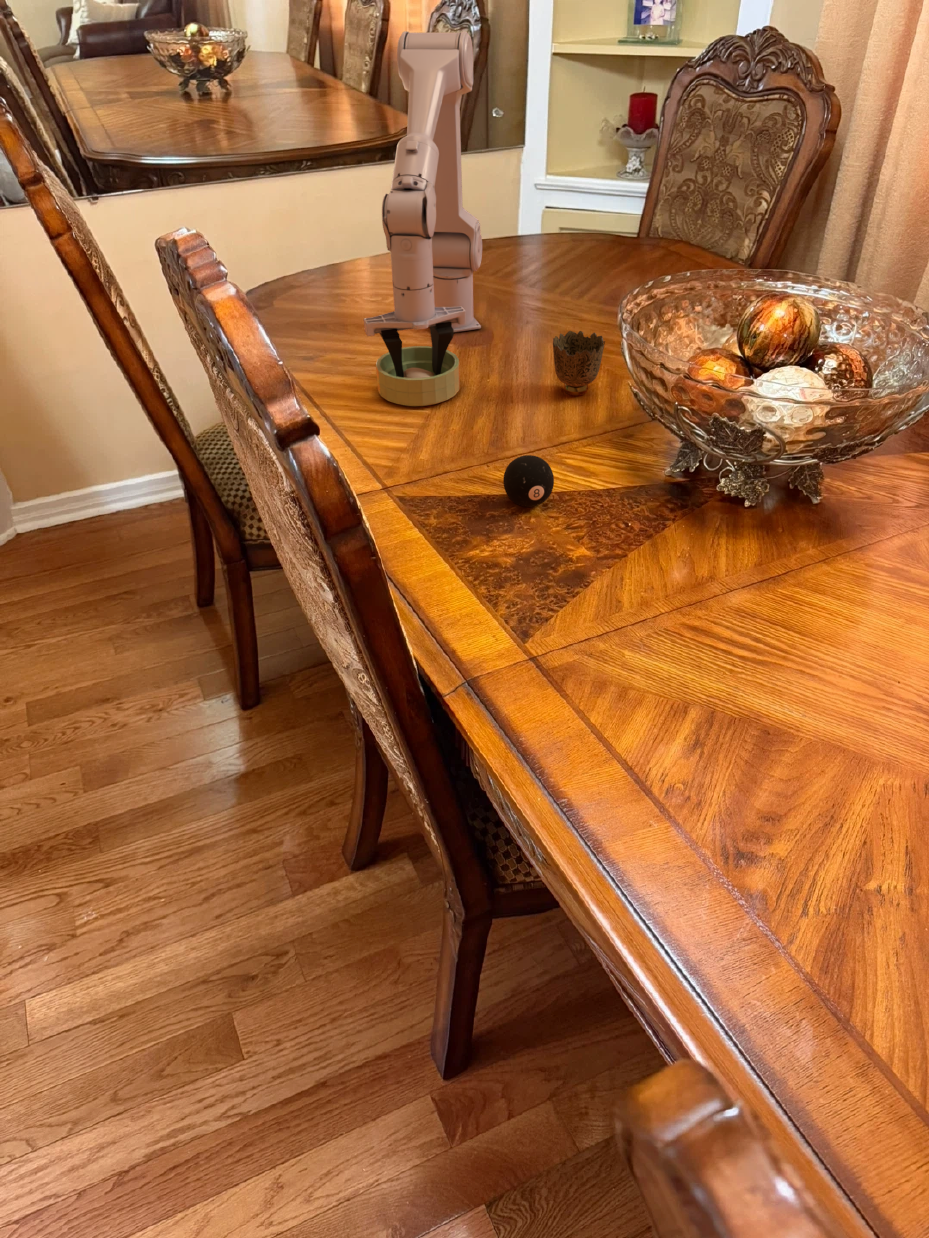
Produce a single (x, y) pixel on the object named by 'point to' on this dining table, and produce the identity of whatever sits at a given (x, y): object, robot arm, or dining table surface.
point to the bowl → (418, 388)
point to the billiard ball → (528, 480)
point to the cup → (577, 360)
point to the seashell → (417, 373)
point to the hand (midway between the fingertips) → (418, 375)
